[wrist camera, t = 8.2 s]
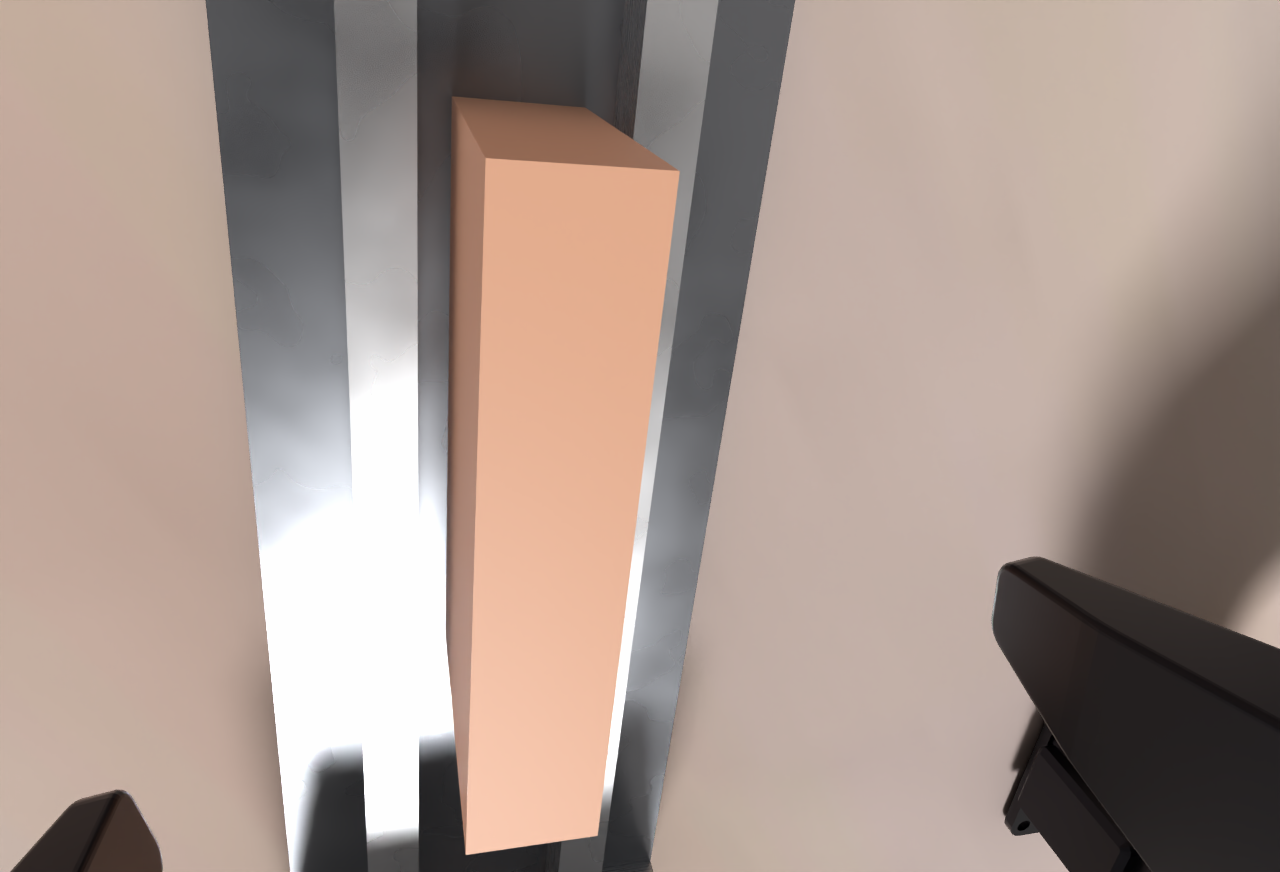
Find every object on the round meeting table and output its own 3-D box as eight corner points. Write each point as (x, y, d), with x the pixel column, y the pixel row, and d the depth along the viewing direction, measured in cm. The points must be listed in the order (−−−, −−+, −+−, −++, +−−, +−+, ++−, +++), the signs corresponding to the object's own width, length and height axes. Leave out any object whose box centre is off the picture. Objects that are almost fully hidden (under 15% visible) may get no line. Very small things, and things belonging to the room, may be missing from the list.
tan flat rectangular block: (584, 107, 16) (680, 170, 11) (546, 628, 21) (597, 835, 16) (451, 96, 15) (484, 158, 10) (445, 636, 21) (465, 854, 16)
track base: (789, -101, 16) (1085, -153, 9) (631, 897, 29) (709, 1188, 22) (197, -198, 14) (9, -371, 7) (303, 951, 26) (275, 1303, 19)
